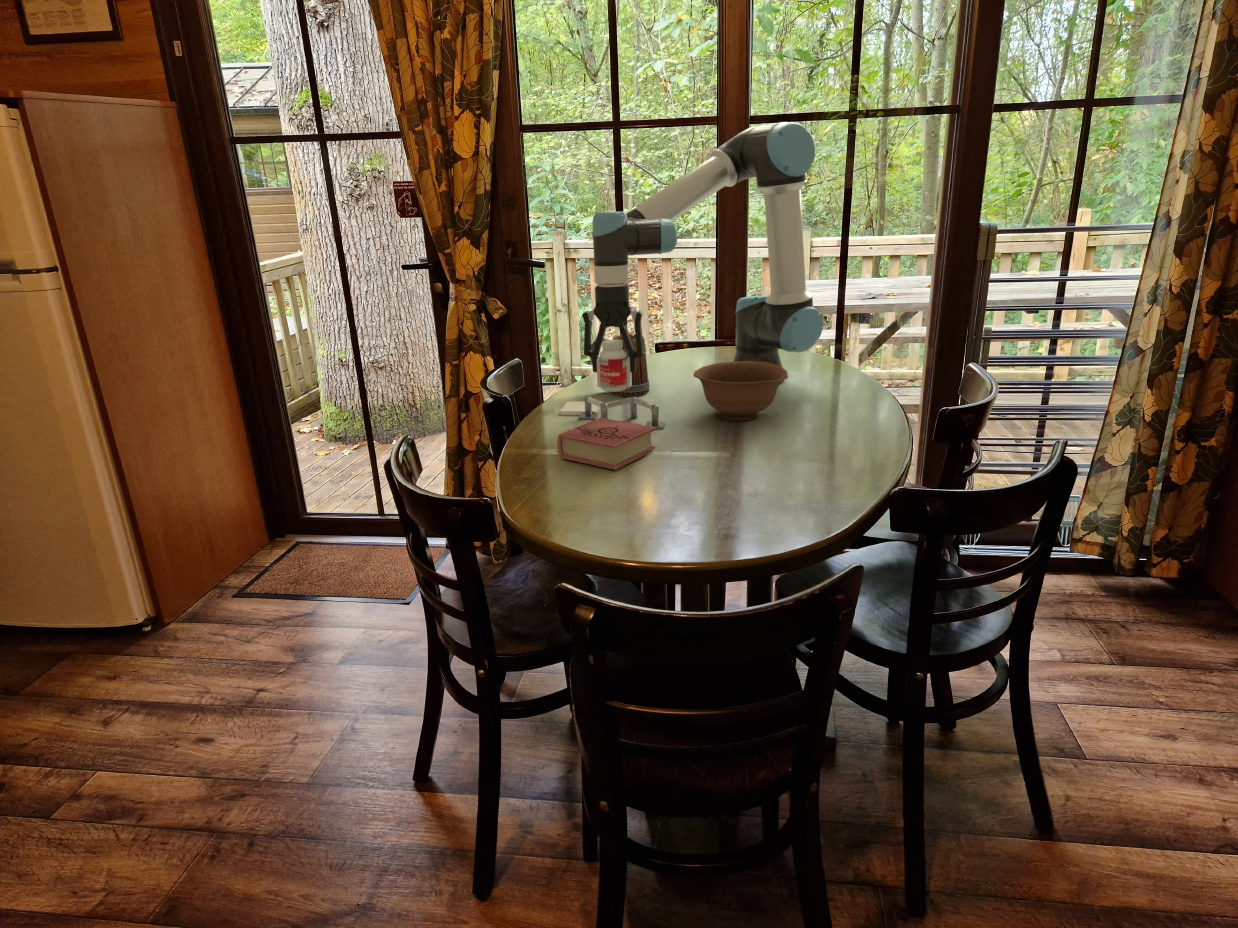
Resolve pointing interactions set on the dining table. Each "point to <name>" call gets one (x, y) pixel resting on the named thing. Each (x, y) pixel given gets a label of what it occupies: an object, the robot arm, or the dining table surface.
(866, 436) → the dining table surface
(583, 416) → the jointed bar linkage
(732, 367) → the bowl
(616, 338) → the mug
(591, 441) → the book
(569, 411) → the pad
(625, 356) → the pill bottle
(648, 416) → the dining table surface
